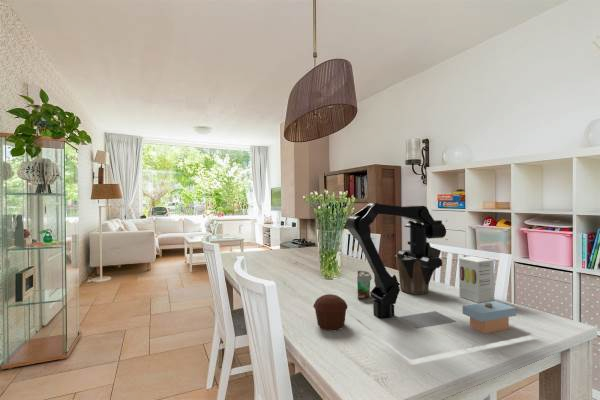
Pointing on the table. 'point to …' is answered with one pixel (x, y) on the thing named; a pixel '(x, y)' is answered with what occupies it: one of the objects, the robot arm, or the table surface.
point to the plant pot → (412, 279)
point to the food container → (363, 284)
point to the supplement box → (476, 279)
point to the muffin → (330, 312)
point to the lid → (489, 311)
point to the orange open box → (490, 324)
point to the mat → (426, 319)
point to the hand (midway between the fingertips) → (418, 281)
